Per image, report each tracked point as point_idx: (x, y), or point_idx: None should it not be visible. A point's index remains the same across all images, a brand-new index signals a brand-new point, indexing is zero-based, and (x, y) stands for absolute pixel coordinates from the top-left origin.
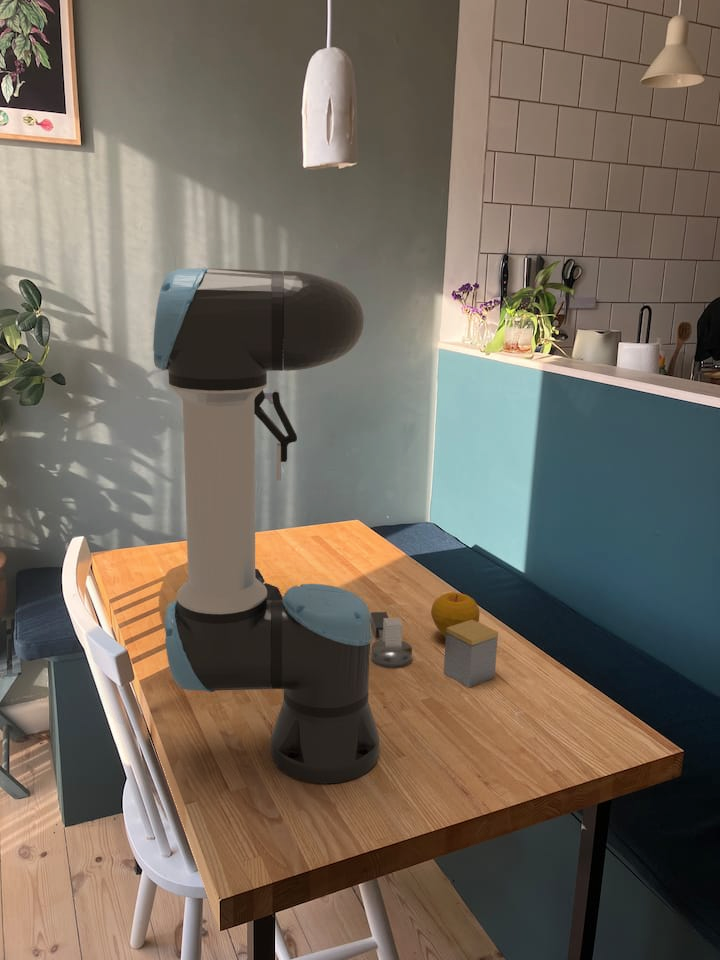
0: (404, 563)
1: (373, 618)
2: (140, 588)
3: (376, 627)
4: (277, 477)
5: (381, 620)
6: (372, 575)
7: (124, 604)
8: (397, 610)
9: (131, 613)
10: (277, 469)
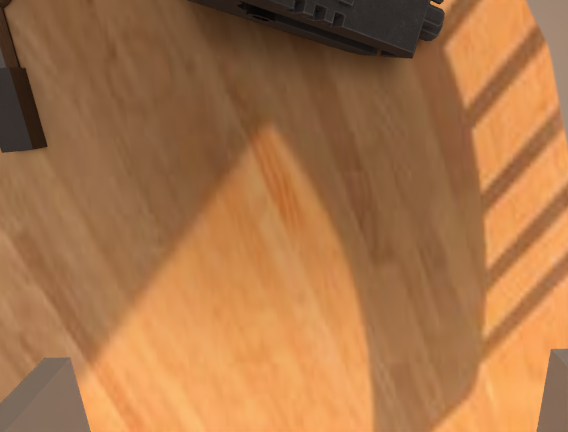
0: None
1: (22, 117)
2: (528, 303)
3: (8, 69)
4: (52, 370)
5: (4, 107)
6: (74, 364)
7: (558, 224)
8: (3, 204)
9: (541, 179)
10: (12, 417)
